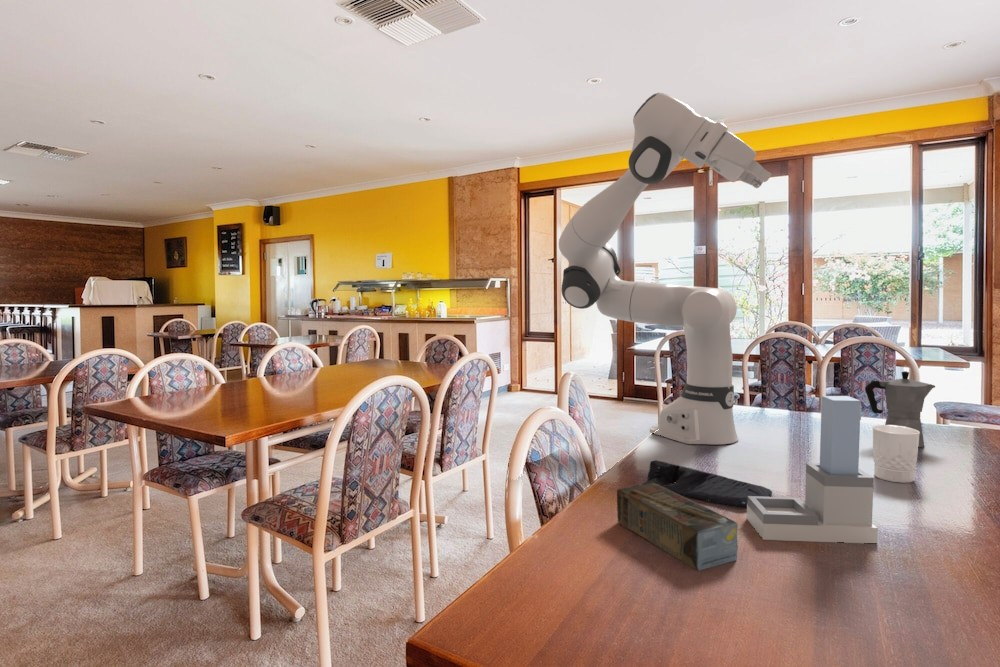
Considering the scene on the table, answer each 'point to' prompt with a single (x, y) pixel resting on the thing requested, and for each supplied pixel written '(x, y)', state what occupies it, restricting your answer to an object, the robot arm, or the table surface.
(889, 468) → the white cup
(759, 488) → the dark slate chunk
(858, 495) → the stepped base with tray
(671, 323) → the robot arm
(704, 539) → the beverage carton
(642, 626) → the table surface
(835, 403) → the plug
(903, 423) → the coffeepot
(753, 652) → the table surface
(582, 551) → the table surface
